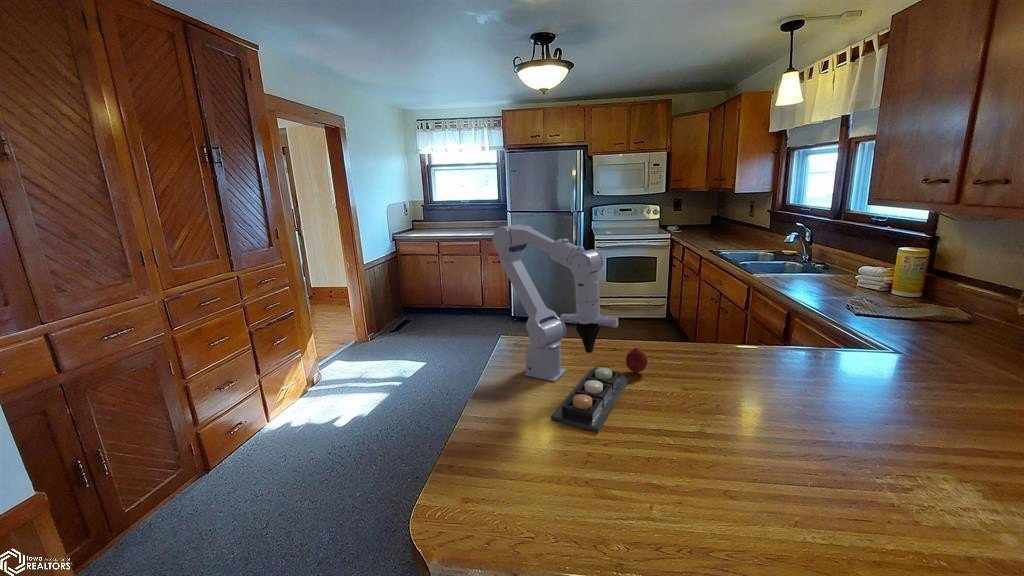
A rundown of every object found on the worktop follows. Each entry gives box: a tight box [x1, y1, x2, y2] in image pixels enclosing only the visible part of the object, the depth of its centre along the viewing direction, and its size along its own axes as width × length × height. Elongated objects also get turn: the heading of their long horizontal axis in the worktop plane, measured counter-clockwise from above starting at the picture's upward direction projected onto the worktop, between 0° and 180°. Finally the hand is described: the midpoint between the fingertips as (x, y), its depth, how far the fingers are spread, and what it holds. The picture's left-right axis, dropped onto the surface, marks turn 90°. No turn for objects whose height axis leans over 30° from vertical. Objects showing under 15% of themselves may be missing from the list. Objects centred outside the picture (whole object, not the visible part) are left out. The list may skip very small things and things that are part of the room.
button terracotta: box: [573, 394, 592, 411], centre depth 95 cm, size 4×4×2 cm
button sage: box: [595, 367, 612, 381], centre depth 108 cm, size 4×4×2 cm
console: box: [550, 366, 631, 434], centre depth 102 cm, size 11×27×3 cm, turn 151°
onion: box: [625, 345, 649, 374], centre depth 114 cm, size 6×6×8 cm
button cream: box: [585, 380, 603, 395], centre depth 101 cm, size 4×4×2 cm
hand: (589, 351), depth 105 cm, fingers closed
